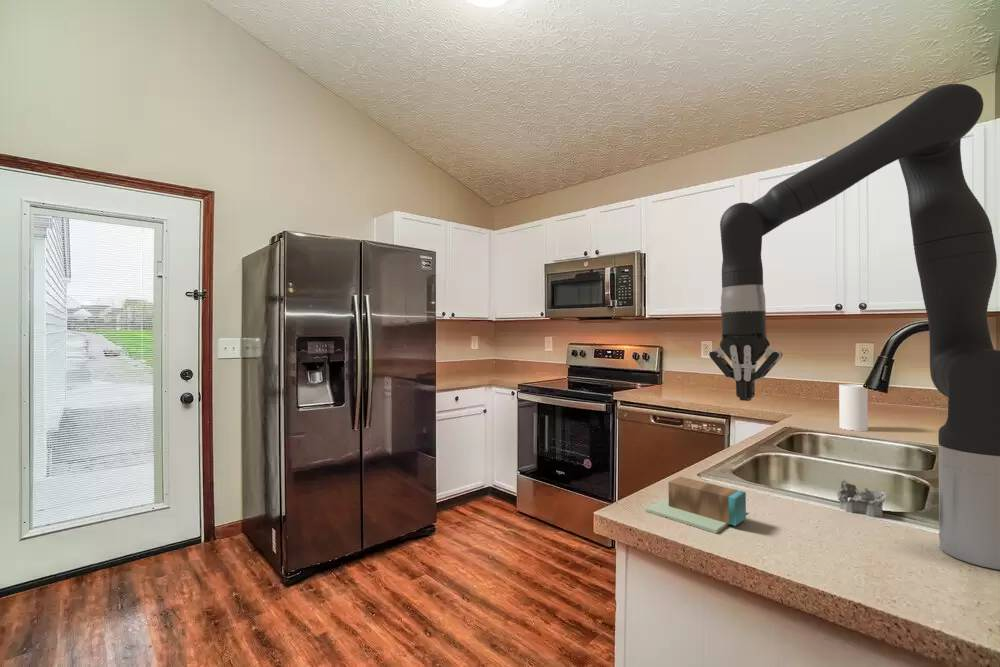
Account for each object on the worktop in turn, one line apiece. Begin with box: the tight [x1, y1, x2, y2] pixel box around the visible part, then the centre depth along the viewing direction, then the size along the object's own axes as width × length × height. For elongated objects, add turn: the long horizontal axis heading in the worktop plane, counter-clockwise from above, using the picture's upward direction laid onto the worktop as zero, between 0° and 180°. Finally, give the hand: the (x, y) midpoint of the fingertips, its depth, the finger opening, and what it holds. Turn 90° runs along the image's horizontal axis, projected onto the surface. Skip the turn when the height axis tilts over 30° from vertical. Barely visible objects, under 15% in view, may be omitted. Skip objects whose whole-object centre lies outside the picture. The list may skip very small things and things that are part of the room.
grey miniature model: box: [837, 479, 887, 518], centre depth 93 cm, size 11×8×4 cm
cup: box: [838, 383, 869, 432], centre depth 166 cm, size 8×8×16 cm
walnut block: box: [667, 476, 747, 527], centre depth 89 cm, size 5×5×13 cm
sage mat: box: [645, 496, 730, 534], centre depth 91 cm, size 14×14×1 cm
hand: (745, 400), depth 87 cm, fingers closed
